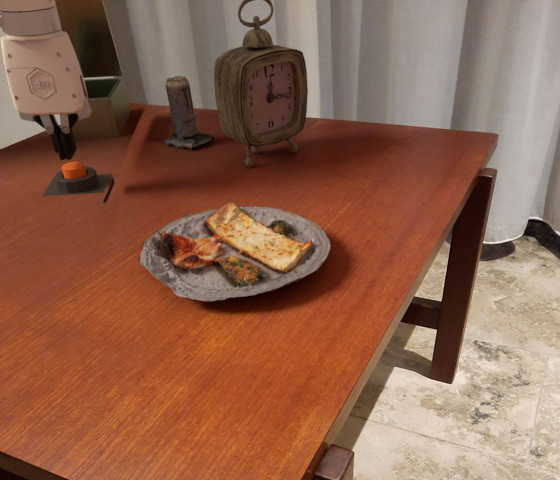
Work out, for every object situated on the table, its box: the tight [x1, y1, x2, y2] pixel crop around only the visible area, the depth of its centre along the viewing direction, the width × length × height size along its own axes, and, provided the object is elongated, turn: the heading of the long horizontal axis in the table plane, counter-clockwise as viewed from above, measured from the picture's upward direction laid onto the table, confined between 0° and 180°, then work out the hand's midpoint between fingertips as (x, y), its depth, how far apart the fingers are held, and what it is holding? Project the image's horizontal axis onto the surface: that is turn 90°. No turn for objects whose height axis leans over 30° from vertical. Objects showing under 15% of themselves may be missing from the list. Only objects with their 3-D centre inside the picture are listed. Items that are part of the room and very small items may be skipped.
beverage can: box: [164, 75, 216, 150], centre depth 106 cm, size 9×8×12 cm
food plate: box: [138, 200, 331, 302], centre depth 73 cm, size 25×23×4 cm
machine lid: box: [55, 0, 124, 79], centre depth 110 cm, size 16×10×5 cm
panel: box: [41, 165, 115, 204], centre depth 92 cm, size 10×8×4 cm
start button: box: [61, 161, 87, 179], centre depth 90 cm, size 4×4×2 cm
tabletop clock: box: [213, 0, 309, 168], centre depth 95 cm, size 14×9×25 cm, turn 129°
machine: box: [72, 76, 131, 140], centre depth 113 cm, size 16×10×9 cm, turn 3°
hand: (67, 156), depth 89 cm, fingers closed
